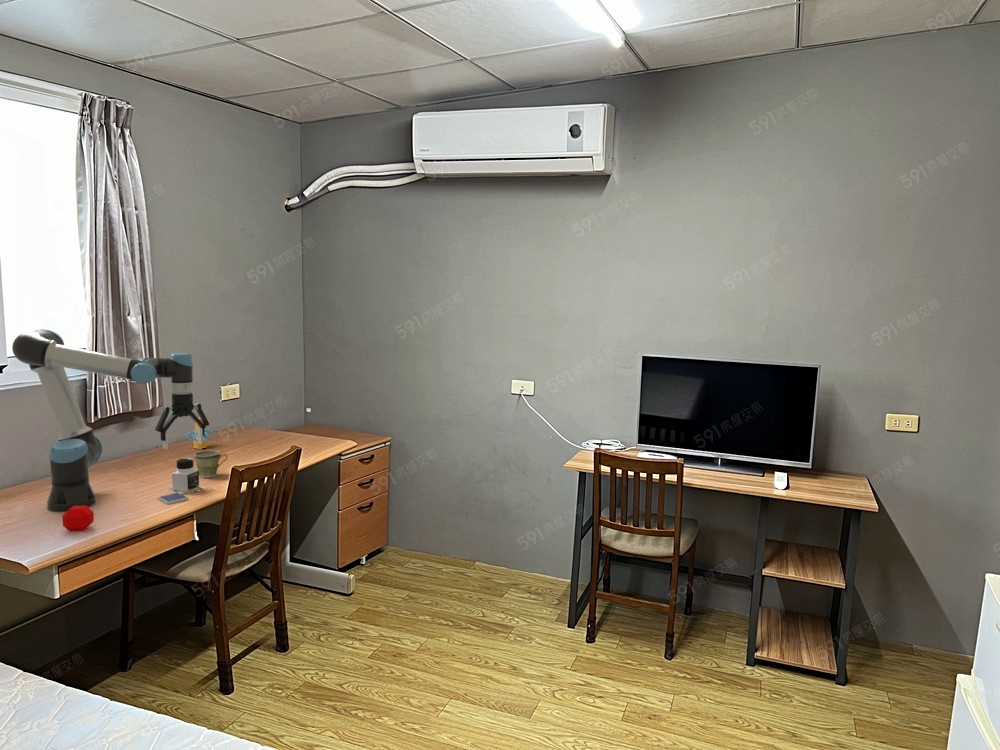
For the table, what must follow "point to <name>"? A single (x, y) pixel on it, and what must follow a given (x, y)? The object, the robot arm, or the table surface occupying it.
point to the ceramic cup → (208, 462)
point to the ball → (78, 518)
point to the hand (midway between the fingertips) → (183, 446)
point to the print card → (185, 491)
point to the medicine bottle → (185, 476)
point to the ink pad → (172, 498)
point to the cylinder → (195, 437)
